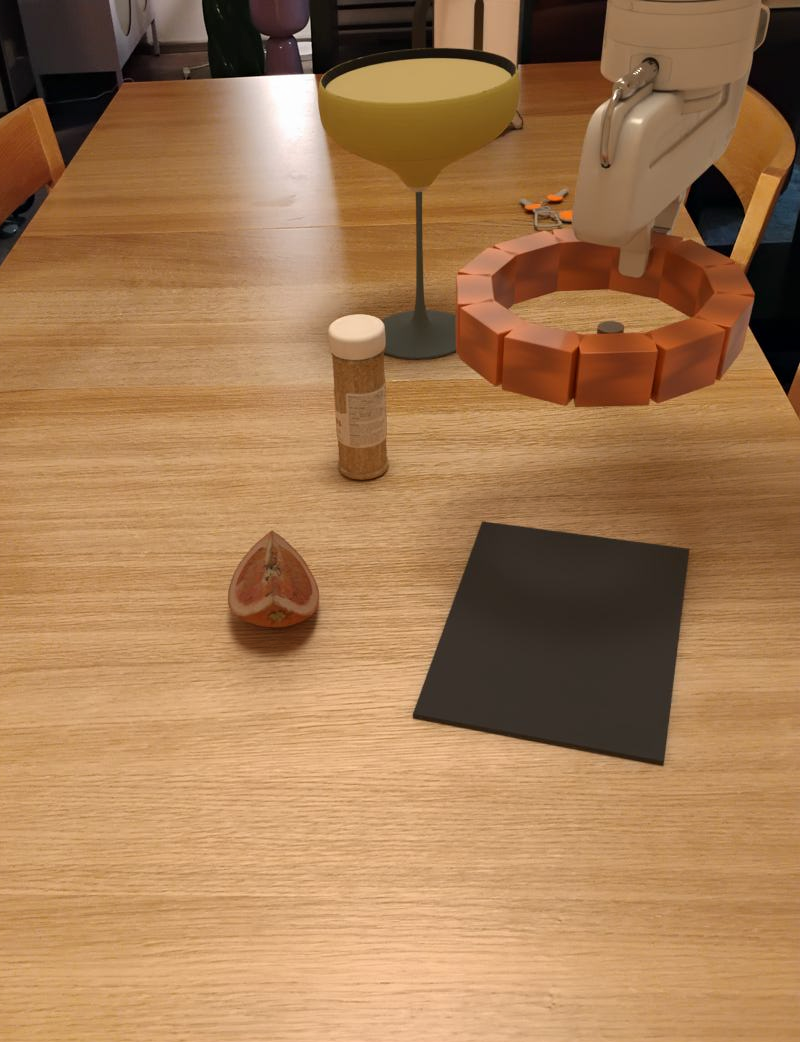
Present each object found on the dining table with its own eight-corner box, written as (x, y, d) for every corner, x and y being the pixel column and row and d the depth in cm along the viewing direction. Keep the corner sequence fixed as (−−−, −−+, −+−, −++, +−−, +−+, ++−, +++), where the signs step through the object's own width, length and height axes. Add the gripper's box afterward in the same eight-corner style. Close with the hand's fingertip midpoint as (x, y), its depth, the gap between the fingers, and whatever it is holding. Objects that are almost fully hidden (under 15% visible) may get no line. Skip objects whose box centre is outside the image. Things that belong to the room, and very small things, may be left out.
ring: (619, 255, 78) (625, 207, 75) (802, 353, 65) (817, 299, 63) (406, 318, 73) (405, 269, 70) (560, 438, 60) (566, 382, 58)
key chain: (588, 227, 126) (588, 220, 125) (527, 231, 126) (528, 224, 126) (571, 190, 135) (572, 183, 135) (515, 194, 136) (516, 187, 135)
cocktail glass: (393, 286, 118) (386, 40, 101) (537, 317, 109) (556, 55, 92) (301, 353, 107) (276, 92, 91) (452, 393, 99) (455, 113, 82)
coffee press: (420, 117, 163) (418, -114, 143) (523, 113, 161) (535, -123, 141) (412, 154, 151) (409, -94, 131) (523, 150, 148) (537, -103, 128)
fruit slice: (322, 650, 74) (317, 597, 70) (229, 657, 74) (219, 605, 70) (319, 577, 80) (314, 525, 76) (233, 584, 80) (224, 532, 77)
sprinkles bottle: (338, 455, 92) (327, 313, 83) (388, 452, 92) (383, 310, 83) (338, 484, 89) (327, 340, 80) (390, 481, 89) (386, 336, 80)
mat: (482, 525, 83) (482, 520, 83) (688, 552, 79) (689, 548, 78) (412, 717, 68) (412, 713, 68) (663, 765, 64) (664, 761, 63)
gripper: (666, 92, 55) (630, 332, 65) (779, 6, 67) (735, 219, 77) (557, 81, 58) (538, 313, 67) (684, 0, 70) (653, 207, 79)
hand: (644, 262), depth 72 cm, fingers closed on ring, 2 cm apart
